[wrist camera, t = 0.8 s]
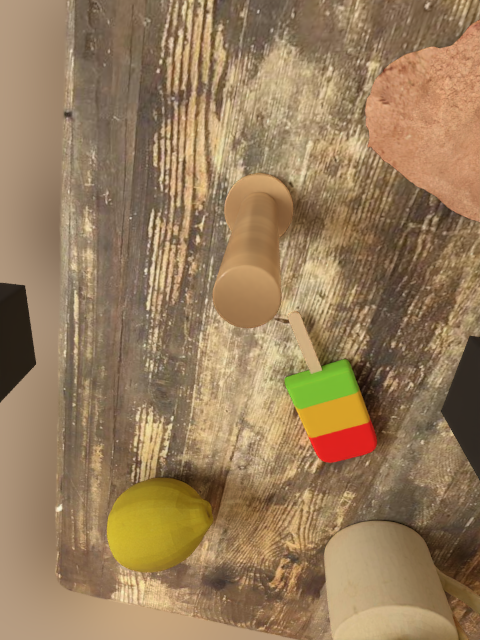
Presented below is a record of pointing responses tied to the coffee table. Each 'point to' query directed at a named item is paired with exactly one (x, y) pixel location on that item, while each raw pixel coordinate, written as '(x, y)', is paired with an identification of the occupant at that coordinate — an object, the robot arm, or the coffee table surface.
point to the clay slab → (432, 120)
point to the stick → (253, 251)
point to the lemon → (157, 524)
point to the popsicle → (329, 403)
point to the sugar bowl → (389, 586)
